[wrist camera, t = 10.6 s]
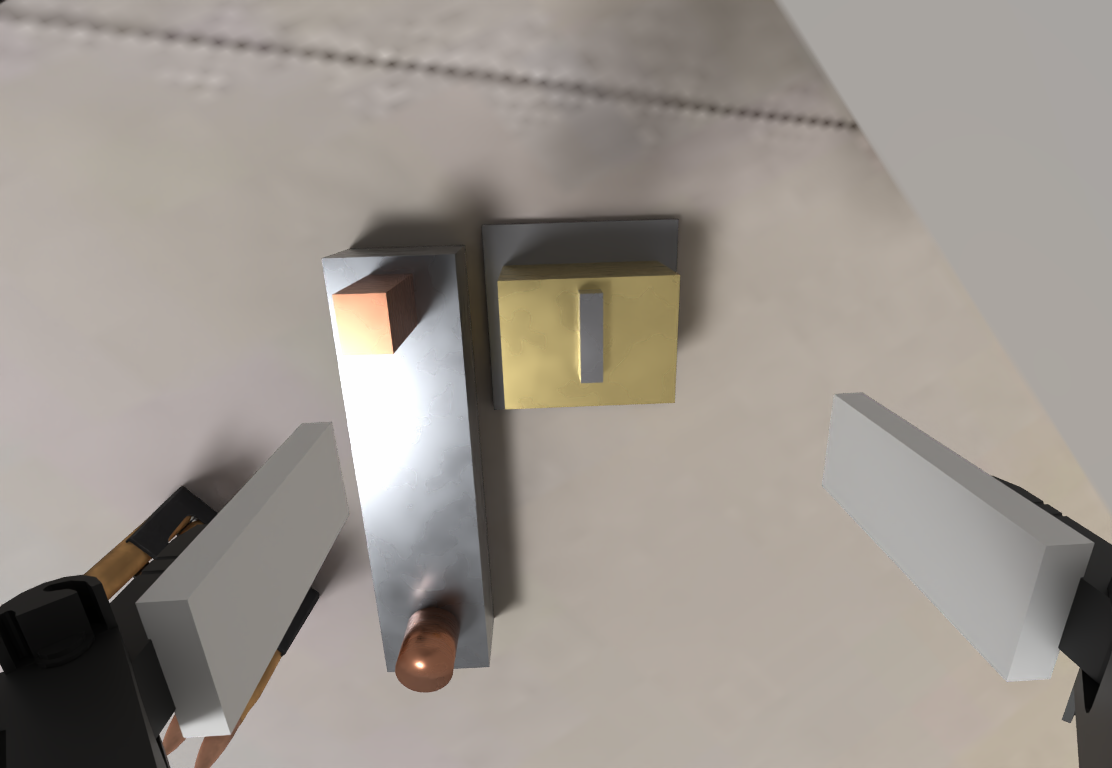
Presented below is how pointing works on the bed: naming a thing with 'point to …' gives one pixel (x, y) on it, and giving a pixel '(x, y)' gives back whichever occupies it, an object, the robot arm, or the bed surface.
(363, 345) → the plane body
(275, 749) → the bed surface
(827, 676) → the bed surface
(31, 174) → the bed surface
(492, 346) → the felt mat
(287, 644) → the ammunition clip
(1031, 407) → the bed surface
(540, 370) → the lever cap
